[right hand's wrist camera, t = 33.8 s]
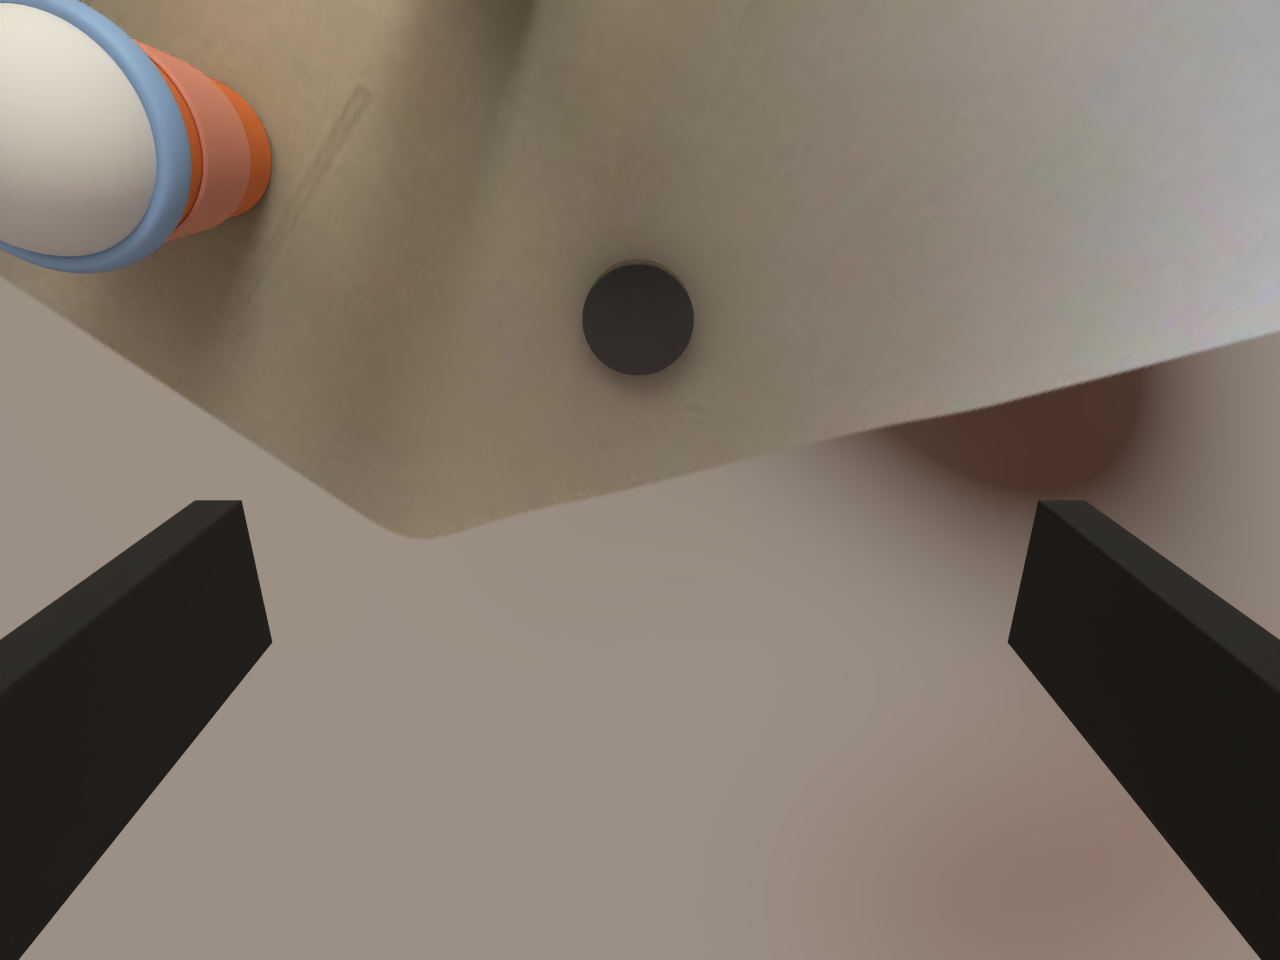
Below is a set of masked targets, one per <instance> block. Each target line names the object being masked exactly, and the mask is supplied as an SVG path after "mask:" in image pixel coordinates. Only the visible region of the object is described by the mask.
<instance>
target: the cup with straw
mask: <svg viewBox="0 0 1280 960" xmlns="http://www.w3.org/2000/svg"><path fill="white" fill-rule="evenodd" d="M271 169H272V156H271V148H270V144H269V140H268V137H267V134H266V132H265V129H264V127H263V125H262V123H261V121H260V119H259V118H258V116H257V115H256V113H255V112H254V110H253V109H252V108H251V107H250V105H249V104H248V103H247V102H246V101H245V100H244V99H243V98H242V97H241V96H240V95H239V94H237V93H236V92H235V91H233V90H232V89H231V88H229V87H227V86H226V85H224V84H222V83H220V82H218V81H216V80H214V79H212V78H210V77H207V76H206V75H205V74H204V73H202V72H201V71H199V70H198V69H197V68H195V67H193V66H191V65H190V64H188V63H186V62H184V61H182V60H180V59H178V58H175V57H173V56H171V55H169V54H166V53H164V52H162V51H160V50H157V49H155V48H153V47H151V46H148V45H146V44H144V43H142V42H139V41H137V40H135V39H133V38H131V37H130V36H128V35H127V34H126V33H125V32H124V31H123V30H122V29H121V28H119V27H118V26H117V25H116V24H114V23H113V22H112V21H111V20H109V19H108V18H106V17H105V16H103V15H102V14H100V13H99V12H98V11H96V10H94V9H92V8H91V7H89V6H87V5H85V4H84V3H82V2H79V1H77V0H0V248H1V249H2V250H4V251H6V252H8V253H10V254H12V255H14V256H16V257H17V258H20V259H22V260H25V261H27V262H30V263H32V264H35V265H38V266H41V267H45V268H49V269H53V270H58V271H63V272H71V273H101V272H108V271H113V270H117V269H121V268H124V267H127V266H130V265H132V264H134V263H137V262H139V261H141V260H142V259H144V258H146V257H147V256H149V255H150V254H152V253H153V252H154V251H156V250H157V249H158V248H159V247H160V246H161V245H162V244H163V243H165V242H169V241H172V240H175V239H179V238H182V237H185V236H188V235H192V234H195V233H198V232H201V231H204V230H207V229H210V228H213V227H215V226H217V225H218V224H220V223H222V222H223V221H224V220H226V219H229V218H232V217H235V216H238V215H240V214H242V213H244V212H246V211H248V210H249V209H250V208H252V207H253V206H254V205H255V204H256V203H257V202H258V201H259V200H260V198H261V197H262V195H263V194H264V192H265V190H266V188H267V186H268V183H269V179H270V175H271Z"/></svg>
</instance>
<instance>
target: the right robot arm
mask: <svg viewBox="0 0 1280 960" xmlns="http://www.w3.org/2000/svg"><path fill="white" fill-rule="evenodd" d="M271 643H272V639H271V634H270V630H269V625H268V620H267V616H266V611H265V607H264V602H263V597H262V593H261V588H260V583H259V579H258V574H257V570H256V565H255V560H254V556H253V551H252V546H251V542H250V537H249V533H248V528H247V523H246V519H245V514H244V510H243V505H242V501H241V500H195V501H194V502H192V503H191V504H189V505H188V506H187V507H185V508H184V509H182V510H181V511H180V512H178V513H177V514H175V515H174V516H173V517H171V518H170V519H169V520H167V521H166V522H164V523H163V524H161V525H160V526H159V527H157V528H156V529H155V530H153V531H152V532H150V533H149V534H148V535H146V536H145V537H143V538H142V539H141V540H139V541H138V542H136V543H135V544H134V545H132V546H131V547H129V548H128V549H127V550H125V551H124V552H122V553H121V554H120V555H118V556H117V557H115V558H114V559H113V560H111V561H110V562H108V563H107V564H106V565H104V566H103V567H101V568H100V569H99V570H97V571H96V572H94V573H93V574H92V575H90V576H89V577H88V578H86V579H85V580H83V581H82V582H80V583H79V584H78V585H76V586H75V587H74V588H72V589H71V590H69V591H68V592H67V593H65V594H64V595H62V596H61V597H60V598H58V599H57V600H55V601H54V602H53V603H51V604H50V605H48V606H47V607H46V608H44V609H43V610H41V611H40V612H39V613H37V614H36V615H34V616H33V617H32V618H30V619H29V620H27V621H26V622H25V623H23V624H22V625H20V626H19V627H18V628H16V629H15V630H13V631H12V632H11V633H9V634H8V635H6V636H5V637H4V638H2V639H1V640H0V960H19V959H20V957H21V956H22V955H23V954H24V952H25V951H26V950H27V949H28V947H29V946H30V945H31V944H32V942H33V941H34V940H35V939H36V937H37V936H38V935H39V934H40V932H41V931H42V930H43V929H44V927H45V926H46V925H47V924H48V922H49V921H50V920H51V919H52V917H53V916H54V915H55V914H56V912H57V911H58V910H59V909H60V907H61V906H62V905H63V904H64V902H65V901H66V900H67V899H68V897H69V896H70V895H71V894H72V892H73V891H74V890H75V889H76V887H77V886H78V885H79V884H80V882H81V881H82V880H83V879H84V877H85V876H86V875H87V874H88V872H89V871H90V870H91V869H92V867H93V866H94V865H95V864H96V862H97V861H98V860H99V859H100V857H101V856H102V855H103V854H104V852H105V851H106V850H107V849H108V847H109V846H110V845H111V844H112V842H113V841H114V840H115V838H116V837H117V836H118V835H119V834H120V832H121V831H122V830H123V828H124V827H125V826H126V825H127V824H128V822H129V821H130V820H131V818H132V817H133V816H134V815H135V813H136V812H137V811H138V810H139V809H140V807H141V806H142V805H143V803H144V802H145V801H146V800H147V798H148V797H149V796H150V795H151V793H152V792H153V791H154V790H155V788H156V787H157V786H158V785H159V783H160V782H161V781H162V780H163V778H164V777H165V776H166V775H167V773H168V772H169V771H170V770H171V768H172V767H173V766H174V765H175V763H176V762H177V761H178V760H179V758H180V757H181V756H182V755H183V753H184V752H185V751H186V750H187V748H188V747H189V746H190V745H191V743H192V742H193V741H194V740H195V738H196V737H197V736H198V735H199V733H200V732H201V731H202V730H203V728H204V727H205V726H206V725H207V723H208V722H209V721H210V719H211V718H212V717H213V716H214V715H215V713H216V712H217V711H218V710H219V708H220V707H221V706H222V705H223V703H224V702H225V701H226V700H227V698H228V697H229V696H230V695H231V693H232V692H233V691H234V690H235V688H236V687H237V686H238V685H239V683H240V682H241V681H242V680H243V678H244V677H245V676H246V674H247V673H248V672H249V671H250V670H251V668H252V667H253V666H254V665H255V663H256V662H257V661H258V660H259V658H260V657H261V656H262V655H263V653H264V652H265V651H266V650H267V648H268V647H269V646H270V644H271ZM1008 643H1009V645H1010V646H1011V647H1012V648H1013V650H1014V651H1015V652H1016V653H1017V655H1018V656H1019V657H1020V658H1021V660H1022V661H1023V662H1024V663H1025V665H1026V666H1027V667H1028V668H1029V670H1030V671H1031V672H1032V673H1033V675H1034V676H1035V677H1036V678H1037V680H1038V681H1039V682H1040V683H1041V685H1042V686H1043V687H1044V688H1045V690H1046V691H1047V692H1048V693H1049V695H1050V696H1051V697H1052V698H1053V700H1054V701H1055V702H1056V703H1057V705H1058V706H1059V707H1060V708H1061V710H1062V711H1063V712H1064V713H1065V715H1066V716H1067V717H1068V718H1069V720H1070V721H1071V722H1072V723H1073V725H1074V726H1075V727H1076V728H1077V730H1078V731H1079V732H1080V733H1081V735H1082V736H1083V737H1084V738H1085V740H1086V741H1087V742H1088V743H1089V745H1090V746H1091V747H1092V748H1093V750H1094V751H1095V752H1096V753H1097V755H1098V756H1099V757H1100V758H1101V760H1102V761H1103V762H1104V763H1105V765H1106V766H1107V767H1108V768H1109V770H1110V771H1111V772H1112V773H1113V775H1114V776H1115V777H1116V778H1117V780H1118V781H1119V782H1120V783H1121V785H1122V786H1123V787H1124V788H1125V790H1126V791H1127V792H1128V793H1129V795H1130V796H1131V797H1132V798H1133V800H1134V801H1135V802H1136V803H1137V805H1138V806H1139V807H1140V808H1141V810H1142V811H1143V812H1144V814H1145V815H1146V816H1147V817H1148V819H1149V820H1150V821H1151V822H1152V824H1153V825H1154V826H1155V827H1156V828H1157V830H1158V831H1159V832H1160V834H1161V835H1162V836H1163V837H1164V839H1165V840H1166V841H1167V842H1168V844H1169V845H1170V846H1171V847H1172V849H1173V850H1174V851H1175V852H1176V854H1177V855H1178V856H1179V857H1180V858H1181V860H1182V861H1183V862H1184V864H1185V865H1186V866H1187V867H1188V869H1189V870H1190V871H1191V872H1192V874H1193V875H1194V876H1195V877H1196V879H1197V880H1198V881H1199V882H1200V884H1201V885H1202V886H1203V887H1204V889H1205V890H1206V891H1207V892H1208V894H1209V895H1210V896H1211V897H1212V899H1213V900H1214V901H1215V902H1216V904H1217V905H1218V906H1219V907H1220V909H1221V910H1222V911H1223V912H1224V914H1225V915H1226V916H1227V917H1228V919H1229V920H1230V921H1231V922H1232V924H1233V925H1234V926H1235V927H1236V929H1237V930H1238V931H1239V932H1240V934H1241V935H1242V936H1243V937H1244V939H1245V940H1246V941H1247V942H1248V944H1249V945H1250V946H1251V947H1252V949H1253V950H1254V951H1255V952H1256V954H1257V955H1258V956H1259V957H1260V959H1261V960H1280V640H1279V639H1278V638H1276V637H1275V636H1273V635H1272V634H1271V633H1269V632H1268V631H1267V630H1265V629H1264V628H1262V627H1261V626H1260V625H1258V624H1257V623H1255V622H1254V621H1253V620H1251V619H1250V618H1248V617H1247V616H1246V615H1244V614H1243V613H1241V612H1240V611H1239V610H1237V609H1236V608H1234V607H1233V606H1232V605H1230V604H1229V603H1227V602H1226V601H1225V600H1223V599H1222V598H1220V597H1219V596H1218V595H1216V594H1215V593H1213V592H1212V591H1211V590H1209V589H1208V588H1206V587H1205V586H1204V585H1202V584H1201V583H1200V582H1198V581H1197V580H1195V579H1194V578H1193V577H1191V576H1190V575H1188V574H1187V573H1186V572H1184V571H1183V570H1181V569H1180V568H1178V567H1177V566H1176V565H1174V564H1173V563H1172V562H1170V561H1169V560H1167V559H1166V558H1165V557H1163V556H1162V555H1160V554H1159V553H1158V552H1156V551H1155V550H1153V549H1152V548H1151V547H1149V546H1148V545H1146V544H1145V543H1144V542H1142V541H1141V540H1139V539H1138V538H1137V537H1135V536H1134V535H1132V534H1131V533H1130V532H1128V531H1127V530H1125V529H1124V528H1123V527H1121V526H1120V525H1118V524H1117V523H1116V522H1114V521H1113V520H1112V519H1110V518H1109V517H1107V516H1106V515H1105V514H1103V513H1102V512H1100V511H1099V510H1098V509H1096V508H1095V507H1093V506H1092V505H1091V504H1089V503H1088V502H1086V501H1084V500H1039V501H1038V505H1037V509H1036V514H1035V519H1034V523H1033V528H1032V533H1031V537H1030V542H1029V546H1028V551H1027V556H1026V560H1025V565H1024V570H1023V574H1022V579H1021V583H1020V588H1019V593H1018V597H1017V602H1016V607H1015V611H1014V616H1013V621H1012V625H1011V630H1010V634H1009V639H1008Z"/></svg>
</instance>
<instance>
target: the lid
mask: <svg viewBox="0 0 1280 960" xmlns="http://www.w3.org/2000/svg"><path fill="white" fill-rule="evenodd" d="M582 321H583V330H584V334H585V337H586V340H587V342H588V344H589V346H590V348H591V350H592V351H593V353H594V354H595V355H596V356H597V357H598V359H599V360H601V361H602V362H603V363H604V364H605V365H607V366H608V367H610V368H612V369H614V370H616V371H618V372H621V373H624V374H629V375H647V374H652V373H655V372H658V371H660V370H662V369H664V368H666V367H668V366H669V365H671V364H672V363H673V362H674V361H676V360H677V359H678V357H679V356H680V355H681V354H682V353H683V351H684V350H685V348H686V346H687V345H688V343H689V340H690V337H691V334H692V330H693V322H694V320H693V309H692V305H691V301H690V298H689V296H688V294H687V292H686V289H685V287H684V286H683V284H682V282H681V281H680V280H679V279H678V277H677V276H676V275H675V274H674V273H673V272H671V271H670V270H669V269H667V268H666V267H664V266H662V265H660V264H658V263H655V262H652V261H648V260H629V261H624V262H621V263H618V264H616V265H614V266H612V267H610V268H609V269H607V270H606V271H605V272H604V273H603V274H601V275H600V276H599V278H598V279H597V280H596V281H595V283H594V284H593V286H592V288H591V290H590V292H589V294H588V296H587V298H586V301H585V304H584V309H583V320H582Z"/></svg>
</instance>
